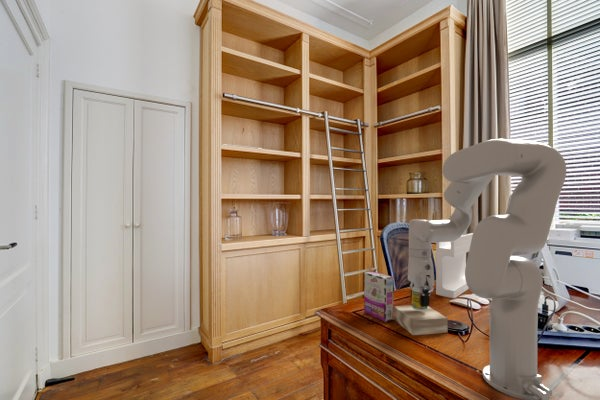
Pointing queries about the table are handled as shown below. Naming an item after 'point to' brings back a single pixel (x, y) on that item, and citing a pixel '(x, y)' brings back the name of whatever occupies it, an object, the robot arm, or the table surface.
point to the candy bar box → (378, 295)
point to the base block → (420, 320)
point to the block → (452, 266)
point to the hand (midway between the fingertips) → (419, 302)
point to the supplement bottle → (417, 298)
